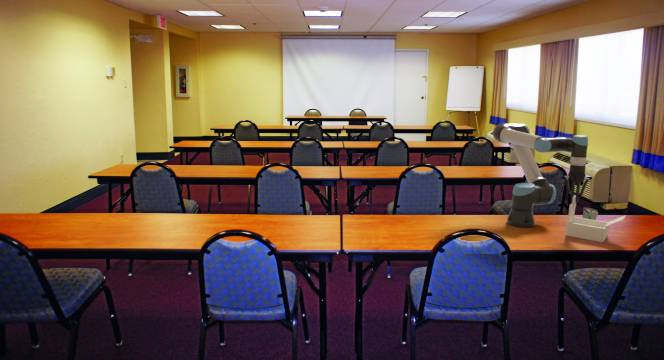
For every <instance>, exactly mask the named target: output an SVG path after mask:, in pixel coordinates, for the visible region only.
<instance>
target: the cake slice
mask: <svg viewBox="0 0 664 360" xmlns="http://www.w3.org/2000/svg"><path fill="white" fill-rule="evenodd" d="M582 210H583V211H582V218H584V219H590V220H596V221H597V217H598V216H599V212H598V210H597V209H594V208H591V207H583V209H582Z"/></svg>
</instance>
